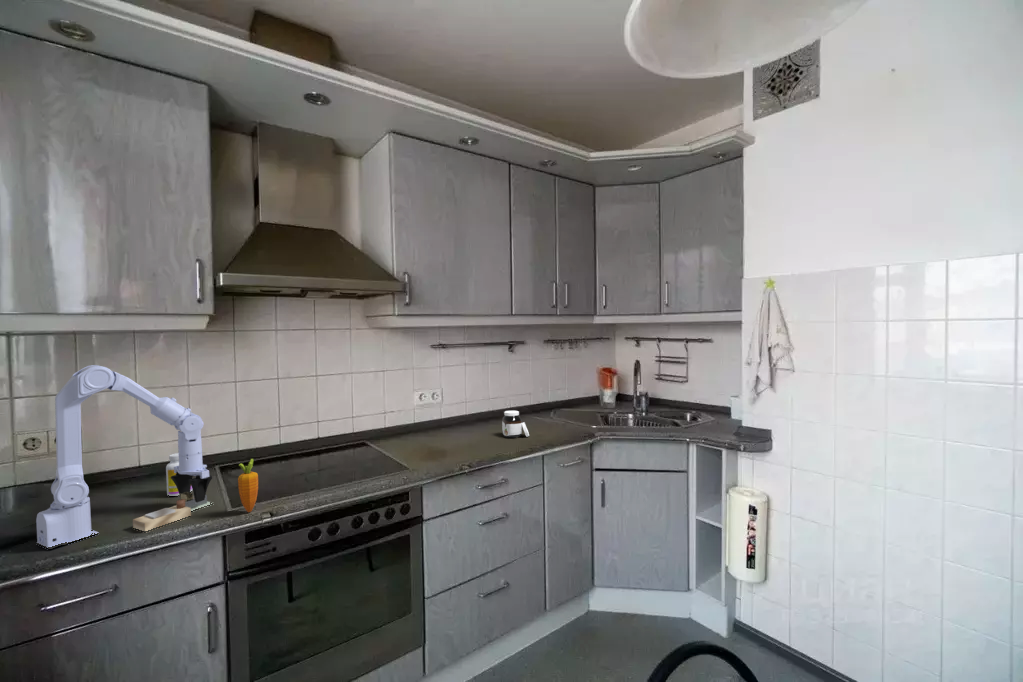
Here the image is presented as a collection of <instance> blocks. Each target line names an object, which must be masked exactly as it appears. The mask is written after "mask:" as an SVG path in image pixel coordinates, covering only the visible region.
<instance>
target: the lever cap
mask: <svg viewBox="0 0 1023 682" xmlns="http://www.w3.org/2000/svg"><path fill="white" fill-rule="evenodd" d="M180 499H185V507H189V508H194V507H197V506H200V505H203V504H206V503H207V501H208V495H207V494H206V495H205V499H204V500H203V501H200V502H196V501H195V498H194V494H193V492H191V493H190V492H184V493H181V497H180Z"/></svg>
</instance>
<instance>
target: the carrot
mask: <svg viewBox="0 0 1023 682" xmlns="http://www.w3.org/2000/svg"><path fill="white" fill-rule="evenodd" d="M253 465H254V458H250V461H249V462H248V464H247V465H244V464H243V463H239V464H238V467H240V469H241V470H242V471H243V472H242V473H241V474H240V475H239V476H238V478H237V484H238V493H239V497H240V501H241V504H242V506H243V508H244V509H245V511H246V512H247V513H249V512H250V513H251V512H252V511H253V509H254V507H255V505H256V502H257V497H258V492H259V475H258V473H257V472H254V471H251V470H252V468H253V467H254V466H253Z"/></svg>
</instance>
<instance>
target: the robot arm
mask: <svg viewBox="0 0 1023 682" xmlns="http://www.w3.org/2000/svg"><path fill="white" fill-rule="evenodd" d="M106 389H108V390H111V391H115V392H118V391H119V392H123V393H125V394H127V395H129V396H131V397H132V398H134V399H136V400H137V401H139V402H141V403H143V404H145V405H146V406H148V407H149V408H150V414H151V415H153V416H154V417H157V418H158V419H160V420H161V421H163V422H165V423H166V424H168V425H170V426H173V427H174V428H175V429H176V430H177V437H178V439H177V446H178V447H177V450H178V452H177V453H178V454H179V466H175V467H174V473H177V474H176V475H174V476H171V479H172V480H173V482H174V483H175V485H176V487H177V489H178V492H179V495H180V496H179V497H180V498H181V493H184V492H190V490H191V486H192V493H193V495H194V498H195V501H196V502H200V501H203V500H204V499H205V495H207V490H208V488H209V485H210V483H211V482H212V481H211V480H212V479H213V475H211V474H210V470H208V469H207V467H208V465H207V464H204V463H203V442H202V440H203V439H202V433H201V432H202V429H203V428H204V424H205V423H204V421H203V418H202V417H201V416H200V415H199V414H196V413H194V412H192V409H191V408H190V407H184V406H183V405H181V404H180V403H178V402H177V401H178V400H177V399H176V398H175V397H171V398H170V397H168V396H163V397H159V396H157V395H156V394H154V393H152V392H151V391H150V390H148V389H146V388H145V387H143V386H142V385H140V384H139V383H137V382H136V381H134V380H133V379H131V378H130V377H127V376H126V375H123V374H122V373H119V372H117V371H113V370H111V369H110V368H108V367H107V366H101V365H98V364H93V365H92V364H91V365H87V366H85V367H83V368H81V369H79V370H78V371H75V372H74V373H73V374H72V376H71V377H70V378H69V379H68V381H66V383H65V384H64V385H63V386H62V387H61V389H60V390H58V392H57V393H56V395H55V398H54V402H55V403H54V405H55V407H54V408H55V409H54V410H55V415H54V416H55V417H54V418H55V449H56V450H55V451H56V470H55V479H54V481H53V482H52V483H51V487H50V491H51V495H52V496H53V501H52V503H50V504H49V505H50V507H48V508H47V509H45V510H42V511H40V512H38V513H37V515H36V519H35V520H36V521H35V523H36V539H37V542H36V543H39V544H41V545H43V546H46V547H47V548H48V547H52V546H55V545H58V544H61V543H65V542H67V543H68V542H72V541H75V540H79V539H81V538H84V537H88V536H90V535H91V534H92V533H93V534H92V535H94V533H95V534H97V533H99V532H98V531H96V530H93V529H92V517H91V514H92V513H91V499H90V497H89V494H90V489H89V486H88V484H87V483H86V481H85V479H84V469H83V455H82V454H83V453H82V452H83V451H82V449H83V447H82V412H81V411H82V407H81V405H82V403H83V402H84V401H86V400H88V398H90V397H92V396H93V395H94V394H97V393H99V392H102V391H103V390H106ZM193 477H194V478H193ZM91 530H93V531H91ZM99 534H100V533H99ZM53 539H55V541H53Z"/></svg>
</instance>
